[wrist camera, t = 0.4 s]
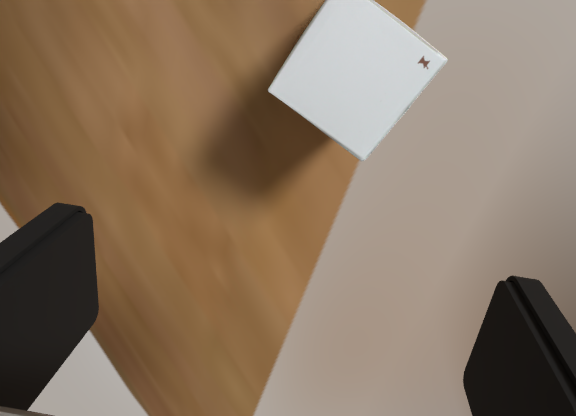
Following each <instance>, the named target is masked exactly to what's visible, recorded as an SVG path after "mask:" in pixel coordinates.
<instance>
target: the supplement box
mask: <svg viewBox="0 0 576 416" xmlns="http://www.w3.org/2000/svg"><path fill="white" fill-rule="evenodd" d="M447 61H448V59H447V58H446V57H445V56H444V55H443V54H441V53H440V52H439V51H438V50H437V49H435V48H434V47H433V46H432V45H431V44H429V43H428V42H427V41H426V40H424V39H423V38H422V37H421V36H420V35H418V34H417V33H416V32H415V31H413V30H412V29H411V28H410V27H408V26H407V25H406V24H404V23H403V22H402V21H401V20H399V19H398V18H397V17H395V16H394V15H393V14H391V13H390V12H389V11H387V10H386V9H385V8H383V7H382V6H381V5H379V4H378V3H376V2H375V1H374V0H325V2H324V3H323V5H322V6H321V8H320V9H319V10H318V12H317V13H316V15H315V16H314V18H313V19H312V21H311V22H310V24H309V25H308V27H307V28H306V29H305V31H304V32H303V34H302V36H301V37H300V39H299V40H298V42H297V43H296V45H295V46H294V48H293V49H292V51H291V53H290V54H289V56H288V57H287V59H286V60H285V62H284V64H283V65H282V67H281V69H280V70H279V72H278V74H277V75H276V77H275V78H274V80H273V82H272V83H271V85H270V87H269V88H268V92H269V93H271V94H273V95H274V96H275V97H277V98H278V99H279V100H281V101H282V102H284V103H285V104H286V105H288V106H289V107H290V108H292V109H293V110H295V111H296V112H297V113H299V114H300V115H301V116H302V117H304V118H305V119H306V120H308V121H309V122H310V123H312V124H313V125H314V126H316V127H317V128H318V129H320V130H321V131H322V132H324V133H325V134H326V135H327V136H329V137H330V138H331V139H333V140H334V141H335V142H337V143H338V144H339V145H341V146H342V147H343V148H345V149H346V150H347V151H349V152H350V153H351V154H353V155H354V156H355V157H356V158H358V159H359V160H361V161H364V160H366V159H367V158H368V157H369V155H370V154H371V153H372V152H373V151H374V150H375V148H376V147H377V146H378V144H379V143H380V142H381V141H382V140H383V138H384V137H385V136H386V135H387V134H388V132H389V131H390V130H391V129H392V128H393V126H394V125H395V124H396V123H397V121H398V120H399V119H400V118H401V117H402V116H403V115H404V114H405V112H406V111H407V110H408V109H409V108H410V106H411V105H412V103H413V102H414V101H415V100H416V98H417V97H418V96H419V95H420V94H421V92H422V91H423V90H424V89H425V87H426V86H427V85H428V84H429V83H430V82H431V80H432V79H433V78H434V77H435V76H436V74H437V73H438V72H439V71H440V70H441V69H442V67H443V66H444V65H445V64H446V63H447Z"/></svg>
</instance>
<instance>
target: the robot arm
mask: <svg viewBox="0 0 576 416" xmlns="http://www.w3.org/2000/svg"><path fill="white" fill-rule="evenodd" d="M98 310H99V305H98V291H97V276H96V261H95V247H94V232H93V220H92V216H91V215H90V214H87V213H86V211H85V209H84V208H83V207H82V206H76V205H70V204H63V203H55V204H53V205H52V206H51V207H49V208H48V209H46V210H45V211H44V212H42V213H41V214H39V215H38V216H37V217H35V218H34V219H32V220H31V221H30V222H28V223H27V224H26V225H24V226H23V227H21V228H20V229H19V230H17V231H16V232H14V233H13V234H12V235H10V236H9V237H8V238H6V239H5V240H3V241H2V242H1V243H0V416H53V415H48V414H42V413H37V412H31V411H27V410H28V409H29V407H30V406H31V405H32V403H33V402H34V401H35V399H36V398H37V397H38V396H39V394H40V393H41V392H42V390H43V389H44V388H45V386H46V385H47V384H48V382H49V381H50V380H51V378H52V377H53V376H54V375H55V373H56V372H57V371H58V369H59V368H60V367H61V365H62V364H63V363H64V361H65V360H66V359H67V358H68V356H69V355H70V354H71V352H72V351H73V350H74V348H75V347H76V346H77V344H78V343H79V342H80V341H81V339H82V338H83V337H84V335H85V334H86V333H87V331H88V330H89V329H90V328H91V326H92V325H93V324H94V322H95V320H96V318H97V315H98ZM463 383H464V389H465V392H466V395H467V399H468V402H469V406H470V409H471V412H472V415H473V416H576V333H575V332H574V330H573V329H572V327H571V326H570V324H569V323H568V322H567V320H566V319H565V317H564V316H563V314H562V313H561V311H560V310H559V308H558V307H557V305H556V304H555V302H554V301H553V299H552V298H551V296H550V295H549V293H548V292H547V291H546V289H545V287H544V286H543V285H542V283H541V282H540V281H539V280H536V279H529V278H523V277H517V276H510V277H508V278H507V280H506V281H499V283H498V284H497V286H496V288H495V291H494V294H493V296H492V299H491V302H490V304H489V307H488V310H487V312H486V315H485V318H484V320H483V323H482V326H481V328H480V331H479V334H478V337H477V339H476V342H475V344H474V347H473V349H472V352H471V355H470V358H469V360H468V363H467V366H466V368H465V371H464V379H463Z"/></svg>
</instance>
